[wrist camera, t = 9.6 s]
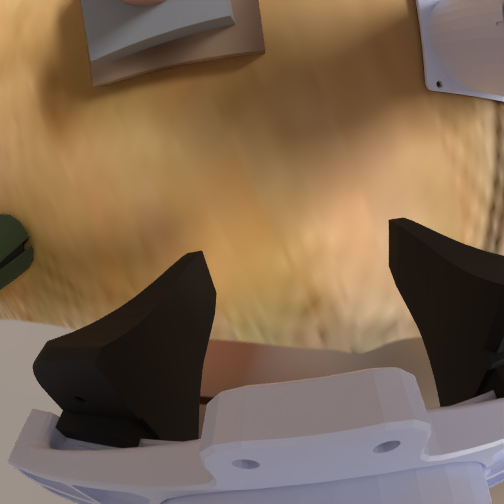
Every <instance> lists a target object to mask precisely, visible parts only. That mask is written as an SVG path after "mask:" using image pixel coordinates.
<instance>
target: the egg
mask: <svg viewBox="0 0 504 504" xmlns="http://www.w3.org/2000/svg"><path fill="white" fill-rule="evenodd" d="M120 1H122V2H124V3H127V4H129V5H132V6H136V7H147V6H153V5H157V4H159V3H162V2H164V1H166V0H120Z"/></svg>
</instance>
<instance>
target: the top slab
mask: <svg viewBox="0 0 504 504" xmlns="http://www.w3.org/2000/svg"><path fill="white" fill-rule="evenodd" d="M80 1H81V8H82V14H83V21H84V27H85V32H86V38H87V43H88V49H89V54H90V59H91V62H113V61H115V60H118V59H120V58H123V57H125V56H128V55H130V54H133V53H136V52H138V51H141V50H144V49H147V48H150V47H153V46H156V45H159V44H162V43H165V42H168V41H171V40H174V39H178V38H181V37H185V36H188V35H192V34H196V33H199V32H203V31H207V30H211V29H216V28H220V27H225V26H229V25H234V24H235V19H234V15H233V10H232V6H231V2H230V0H166V1H164V2H162V3H159V4H157V5H153V6H147V7H136V6H132V5H129V4H127V3H124V2H122V1H120V0H80Z"/></svg>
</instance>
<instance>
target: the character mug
mask: <svg viewBox="0 0 504 504" xmlns="http://www.w3.org/2000/svg"><path fill="white" fill-rule="evenodd" d="M27 238H28V234H27V232H26V231H25V229H24V228H23V226H22V225H21V224H20V222H18V221H17V220H16V219H14V218H13V217H12V216H11V215H3V214H0V290H1V289H2V288H4V287H5V286H6V285H8V284H9V283H10V282H12V281H13V280H14V279H16V278H17V277H18V276H19V275H21V274H22V273H23V272H24V271H25V270H27V269H28V268H29V266H30V264H31V262H32V261H33V248H32V246H31V247H29V248H28V249H27V250H25V251H24V249H23V245H22V243H23V242H24V241H25V240H26V239H27Z"/></svg>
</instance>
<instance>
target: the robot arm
mask: <svg viewBox="0 0 504 504" xmlns="http://www.w3.org/2000/svg"><path fill="white" fill-rule="evenodd" d="M416 6H417V12H418V19H419V25H420V33H421V41H422V50H423V61H424V74H425V85H426V87H427V88H428V89H429V90H431V91H439V92H447V93H455V94H462V95H469V96H475V97H481V98H487V99H492V100H497V101H502V102H504V0H416ZM437 81H439V83H440V87H439V88H438V87H437V85H436V84H437ZM389 268H390V270H391V273H392V276H393V278H394V281H395V284H396V286H397V288H398V290H399V292H400V294H401V296H402V298H403V300H404V301H405V303H406V305H407V307H408V309H409V311H410V313H411V315H412V317H413V319H414V321H415V323H416V325H417V327H418V329H419V331H420V334H421V336H422V339H423V341H424V345H425V347H426V351H427V354H428V357H429V360H430V364H431V367H432V371H433V375H434V378H435V383H436V387H437V392H438V397H439V402H440V407H437V408H428V409H426V408H425V405H424V402H423V399H422V396H421V393H420V390H419V387H418V384H417V382H416V379H415V376H414V375H412V374H410V373H408V372H405V371H404V370H402V369H400V368H395V367H390V368H369V369H364V370H360V371H354V372H348V373H343V374H337V375H330V376H325V377H317V378H311V379H303V380H295V381H287V382H279V383H269V384H258V385H247V386H243V387H239V388H235V389H230V390H226V391H223V392H221V393H219V394H218V395H217V396H216V397H214V398H213V399H212V400H211V401H210V402H209V403H208V404H207V408H206V414H205V419H204V425H203V431H202V437H201V439H199V437H198V433H199V404H200V388H201V379H202V369H203V363H204V358H205V353H206V350H207V345H208V341H209V337H210V333H211V329H212V324H213V320H214V315H215V306H216V290H215V287H214V285H213V282H212V279H211V276H210V273H209V270H208V267H207V264H206V261H205V258H204V255H203V252H202V251H197V252H192V253H187V254H186V255H184V256H183V257H181V258H180V259H179V260H178V261H177V262H176V263H174V264H173V265H172V266H171V267H170V268H169V269H168V270H166V271H165V272H164V273H163V274H162V275H161V276H160V277H159V278H158V279H156V280H155V281H154V282H153V283H152V284H150V285H149V286H148V287H147V288H146V289H144V290H143V291H142V292H141V293H139V294H138V295H137V296H136V297H134V298H133V299H131V300H130V301H129V302H127V303H126V304H124V305H123V306H121V307H120V308H118V309H117V310H115V311H113V312H111V313H110V314H108V315H106V316H105V317H103V318H101V319H99V320H98V321H96V322H94V323H92V324H90V325H88V326H85V327H83V328H81V329H79V330H76V331H74V332H72V333H69V334H66V335H64V336H61V337H58V338H55V339H53V340H49V341H48V342H47V343H46V344H45V346H44V347H43V349H42V350H41V352H40V353H39V355H38V356H37V358H36V360H35V361H34V364H33V372H34V375H35V377H36V379H37V381H38V382H39V384H40V385H41V386H42V388H43V389H44V390H45V391H46V392H47V393H48V395H49V396H50V397H51V398H52V399H53V400H54V401H55V402H56V403H57V404H58V405H59V406H60V408H61V409H63V412H62V414H61V416H60V417H59V416H57V415H55V414H53V413H50V412H45V411H41V410H37V409H32V411H31V413H30V414H29V417H28V418H27V420H26V422H25V424H24V427H23V429H22V431H21V433H20V435H19V437H18V439H17V441H16V443H15V446H14V448H13V450H12V452H11V454H10V457H9V459H8V462H9V464H11V465H12V466H13V467H14V468H16V469H17V470H19V471H20V472H21V473H23V474H24V475H25V476H27V477H28V478H30V479H31V480H33V481H34V482H36V483H37V484H39V485H40V486H42V487H43V488H45V489H46V490H48V491H50V492H51V493H53V494H55V495H57V496H60V497H62V498H65V499H67V500H70V501H73V502H75V503H78V504H492V500H491V496H490V492H489V488H491V487H493V486H495V485H496V484H498V483H500V482H502V481H504V256H502V255H498V254H494V253H490V252H486V251H483V250H480V249H477V248H474V247H471V246H468V245H465V244H463V243H460V242H458V241H456V240H453V239H451V238H448V237H446V236H444V235H442V234H440V233H437V232H435V231H433V230H431V229H429V228H427V227H425V226H423V225H421V224H418V223H416V222H414V221H412V220H409V219H406V218H398V219H391V220H389Z"/></svg>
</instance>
